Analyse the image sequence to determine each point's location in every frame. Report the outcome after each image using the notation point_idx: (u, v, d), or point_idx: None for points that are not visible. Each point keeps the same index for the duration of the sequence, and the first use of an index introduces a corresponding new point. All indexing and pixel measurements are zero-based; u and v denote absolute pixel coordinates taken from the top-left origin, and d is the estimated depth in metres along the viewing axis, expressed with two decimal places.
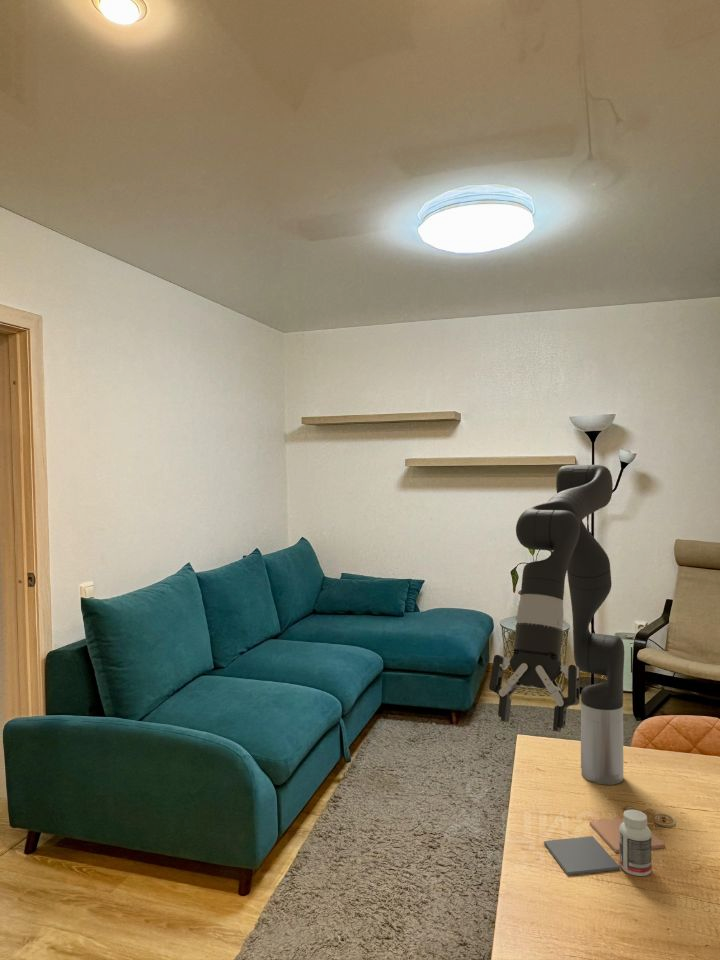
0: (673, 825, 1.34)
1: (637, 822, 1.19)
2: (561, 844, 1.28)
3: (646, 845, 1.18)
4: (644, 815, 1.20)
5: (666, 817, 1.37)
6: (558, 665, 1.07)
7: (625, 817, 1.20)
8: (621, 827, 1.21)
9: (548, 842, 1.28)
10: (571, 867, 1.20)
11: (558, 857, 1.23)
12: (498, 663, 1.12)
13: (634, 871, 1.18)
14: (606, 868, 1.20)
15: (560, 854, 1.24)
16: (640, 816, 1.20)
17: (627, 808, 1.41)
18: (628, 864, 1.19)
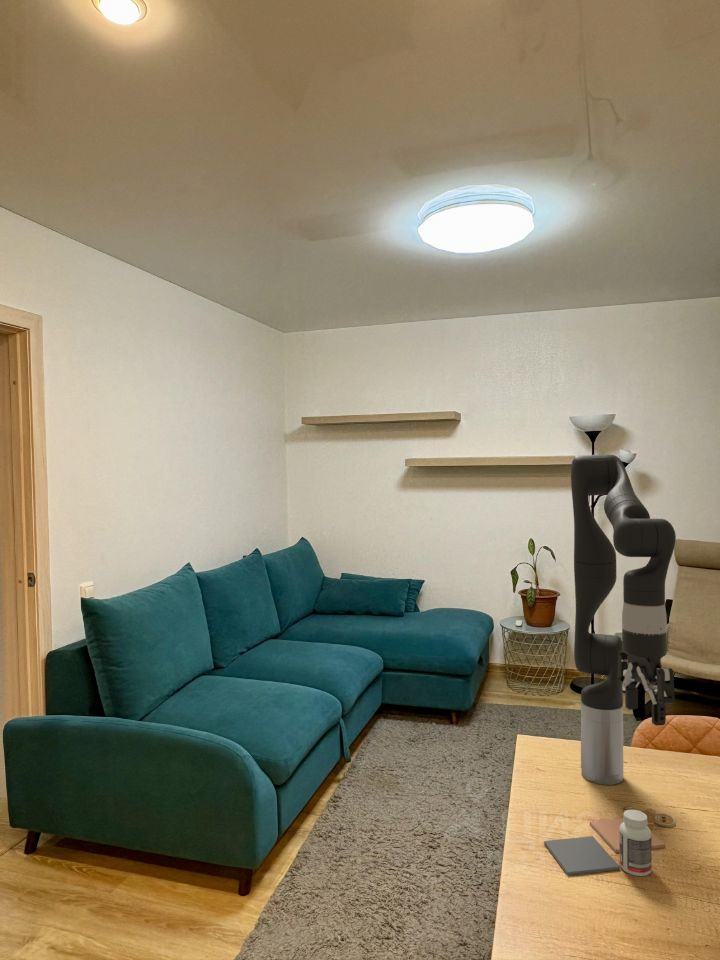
0: (673, 825, 1.34)
1: (637, 822, 1.19)
2: (561, 844, 1.28)
3: (646, 845, 1.18)
4: (644, 815, 1.20)
5: (666, 817, 1.37)
6: (652, 667, 1.18)
7: (625, 817, 1.20)
8: (621, 827, 1.21)
9: (548, 842, 1.28)
10: (571, 867, 1.20)
11: (558, 857, 1.23)
12: (620, 658, 1.28)
13: (634, 871, 1.18)
14: (606, 868, 1.20)
15: (560, 854, 1.24)
16: (640, 816, 1.20)
17: (627, 808, 1.41)
18: (628, 864, 1.19)
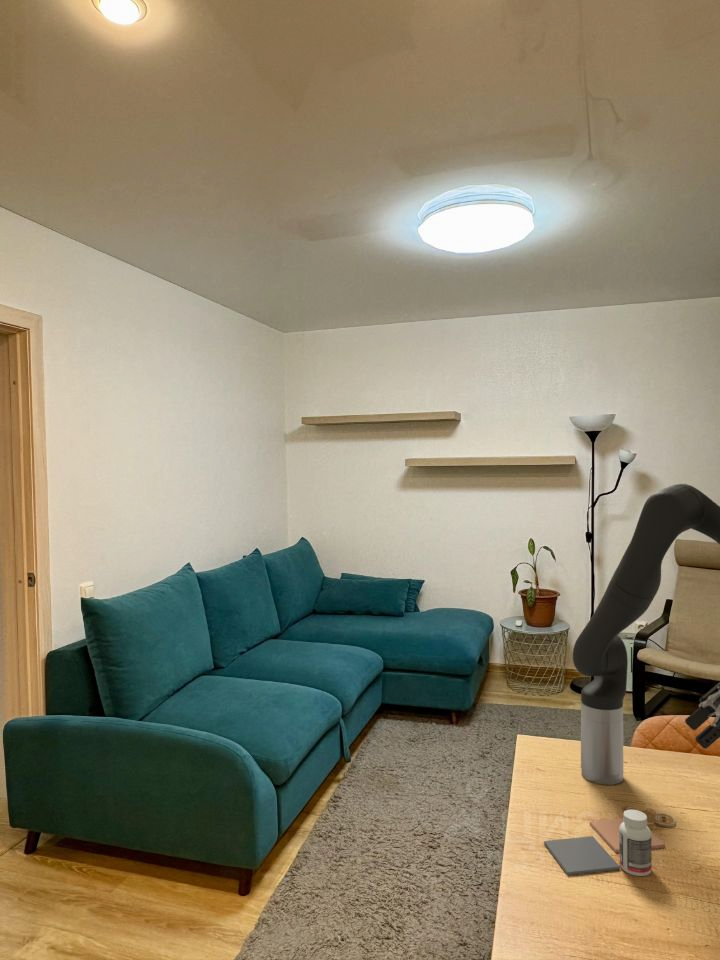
0: (673, 825, 1.34)
1: (637, 822, 1.19)
2: (561, 844, 1.28)
3: (646, 845, 1.18)
4: (644, 815, 1.20)
5: (666, 817, 1.37)
6: None
7: (625, 817, 1.20)
8: (621, 827, 1.21)
9: (548, 842, 1.28)
10: (571, 867, 1.20)
11: (558, 857, 1.23)
12: None
13: (634, 871, 1.18)
14: (606, 868, 1.20)
15: (560, 854, 1.24)
16: (640, 816, 1.20)
17: (627, 808, 1.41)
18: (628, 864, 1.19)
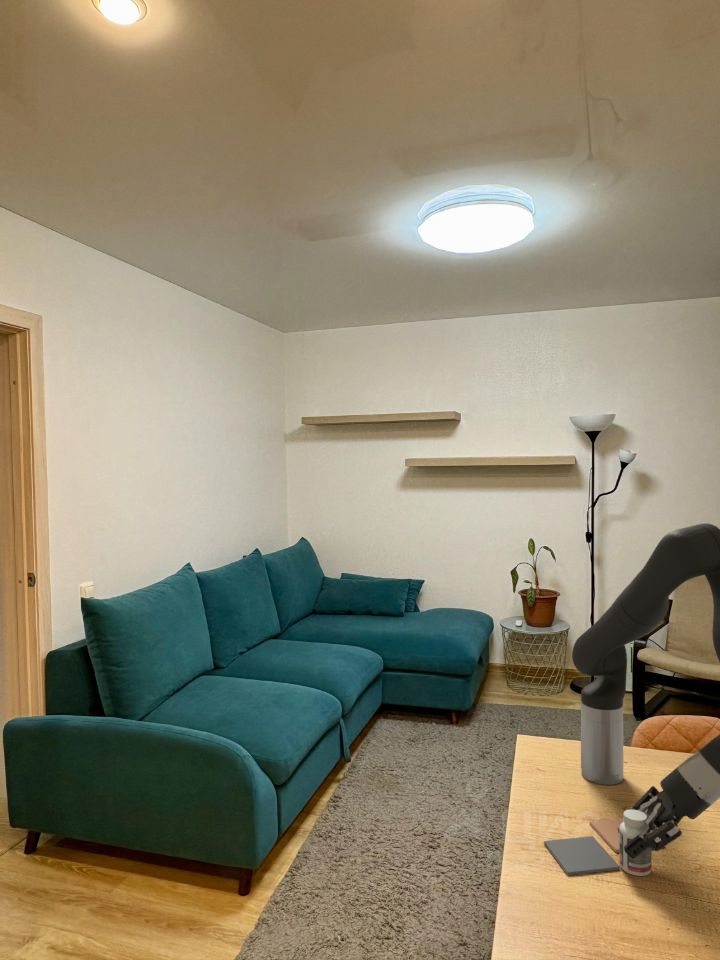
0: None
1: (637, 822, 1.19)
2: (561, 844, 1.28)
3: None
4: (644, 815, 1.20)
5: None
6: None
7: (625, 817, 1.20)
8: (621, 827, 1.21)
9: (548, 842, 1.28)
10: (571, 867, 1.20)
11: (558, 857, 1.23)
12: None
13: (634, 871, 1.18)
14: (606, 868, 1.20)
15: (560, 854, 1.24)
16: (640, 816, 1.20)
17: (627, 808, 1.41)
18: (628, 863, 1.19)
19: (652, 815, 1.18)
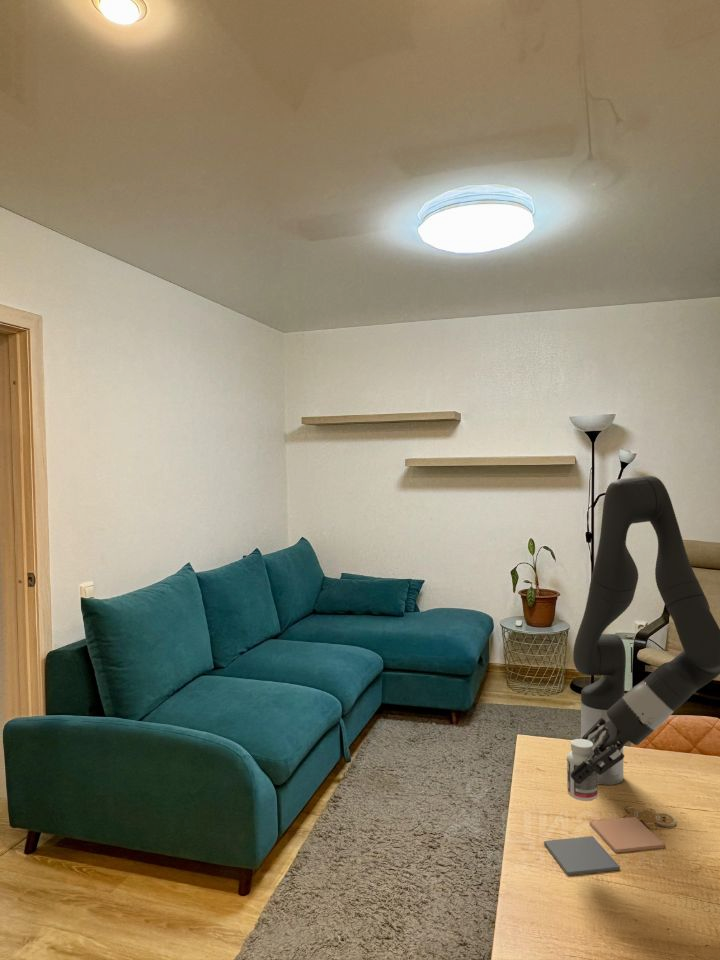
0: (673, 825, 1.34)
1: (583, 749, 1.22)
2: (561, 844, 1.28)
3: None
4: (591, 743, 1.24)
5: (666, 817, 1.37)
6: None
7: (572, 745, 1.24)
8: (569, 755, 1.24)
9: (548, 842, 1.28)
10: (571, 867, 1.20)
11: (558, 857, 1.23)
12: None
13: (580, 796, 1.22)
14: (606, 868, 1.20)
15: (560, 854, 1.24)
16: (587, 744, 1.23)
17: (627, 808, 1.41)
18: (574, 789, 1.23)
19: (597, 742, 1.22)
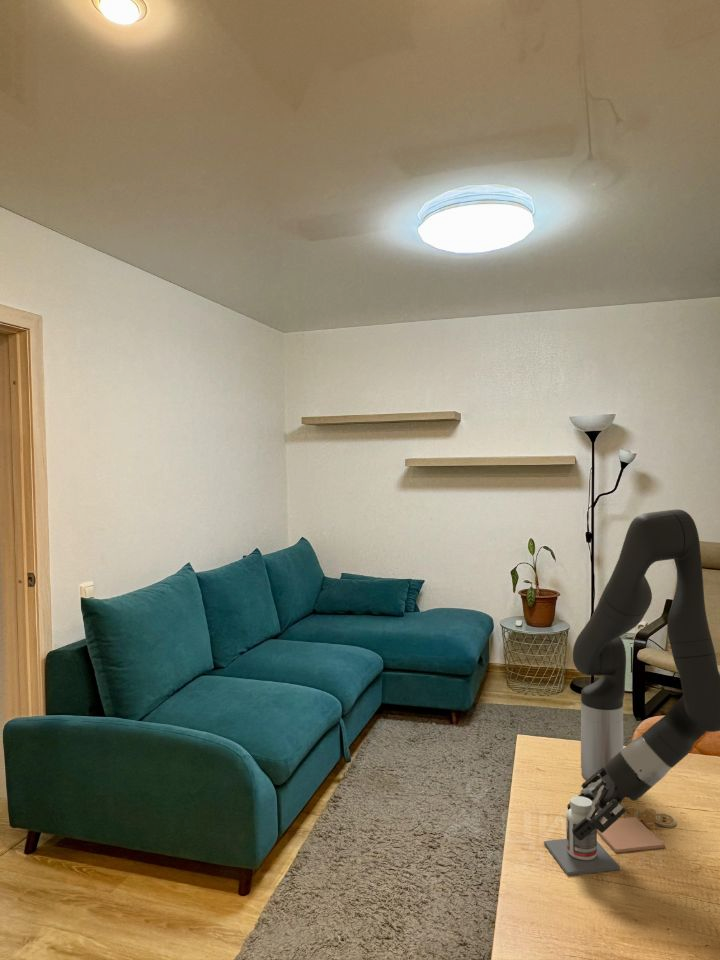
0: (673, 825, 1.34)
1: (583, 808, 1.23)
2: (561, 844, 1.28)
3: None
4: (590, 801, 1.24)
5: (666, 817, 1.37)
6: None
7: (571, 803, 1.24)
8: (568, 813, 1.25)
9: (548, 842, 1.28)
10: (571, 867, 1.20)
11: (558, 857, 1.23)
12: None
13: (579, 855, 1.22)
14: (606, 868, 1.20)
15: (560, 854, 1.24)
16: (586, 802, 1.24)
17: (627, 808, 1.41)
18: (574, 848, 1.23)
19: (597, 797, 1.21)
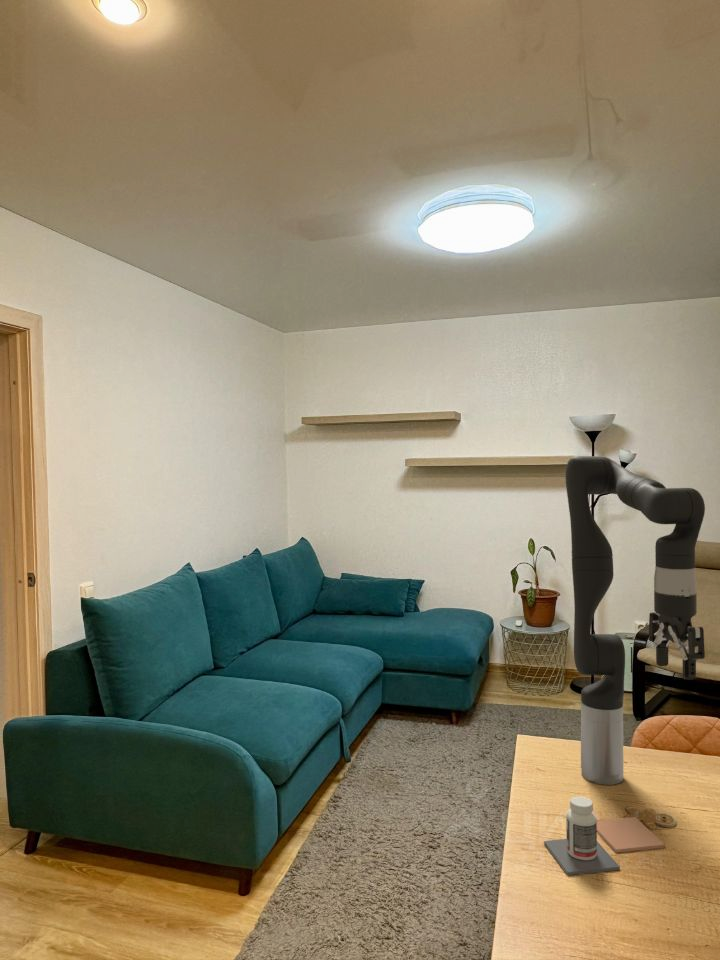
0: (674, 825, 1.34)
1: (582, 809, 1.22)
2: (561, 844, 1.28)
3: (591, 830, 1.22)
4: (590, 801, 1.24)
5: (667, 817, 1.37)
6: None
7: (571, 803, 1.24)
8: (568, 813, 1.25)
9: (548, 842, 1.28)
10: (571, 867, 1.20)
11: (558, 857, 1.23)
12: None
13: (580, 856, 1.22)
14: (606, 868, 1.20)
15: (560, 854, 1.24)
16: (586, 802, 1.24)
17: (628, 808, 1.41)
18: (574, 849, 1.23)
19: (674, 638, 1.28)
